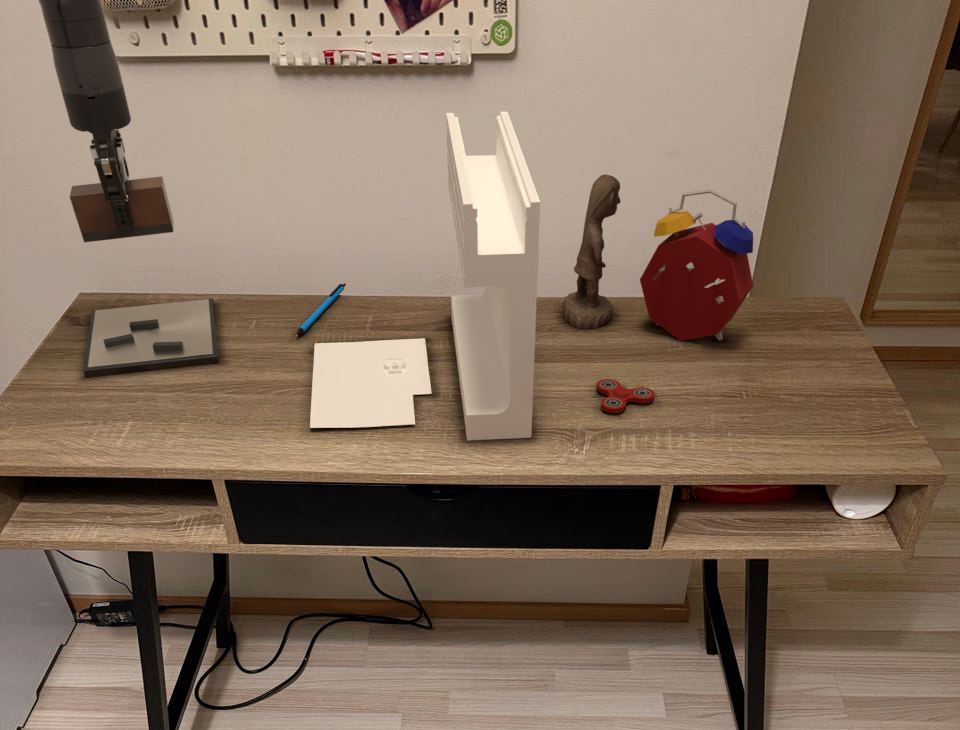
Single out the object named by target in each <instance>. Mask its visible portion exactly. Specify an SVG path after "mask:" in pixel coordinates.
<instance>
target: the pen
mask: <svg viewBox="0 0 960 730" xmlns="http://www.w3.org/2000/svg"><path fill="white" fill-rule="evenodd" d="M346 285H347V284H346V283H345V282H344V283H339V284H338V285H337V286H336V287H335V288H334V289H333V290H332V291H331V292H330V293H329V294H328V297H327V299H325V300H324V302H322V303H321V305H320V306H319V307H318V308H317V309H316V310H315V311H314V312H313V313H312V314H311V315H310V316H309V317H308V319H306V321H304V323H302V325H301V326H300V327H299V328H298V329H297V332H296V334H295V336H296V337H299V336H301V335H302V334H304V333H305V332H306V331H307V330H308V329H309V328H310V326H311V325H312V324H314V323H315V322H316V320H317V319H318V318H319V317H320V316H321V315H322V314H323V313H324V312H325V310H326V309H327V308H328V307H330V305H331V304H332V303H333V302H334V301H335V300H336V299H337V298H338V297H339V296H340V295H341V293H342V292H343V291H344V290H345V287H346Z"/></svg>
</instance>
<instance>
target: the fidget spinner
mask: <svg viewBox="0 0 960 730" xmlns="http://www.w3.org/2000/svg"><path fill="white" fill-rule="evenodd" d="M595 389H596V391H597V392H598V393H600V394H602V395H606V396H607V397H604V398H602V399H601V401H600V408H601V409H602V411H604V412H607V413H610V414H619V413H621V412H623V411H625V409H626V404H628V403H639V404H648V403H651V402H653V401H654V399H655V394H656V393H655V391H654V390H653V389H651V388H648V387H644V386H638V387H633V388H627V387H623V386H622V385H621V383H620V382H619V381H618V380H616V379H612V378H603V379H600V380H598V381H597V382H596V386H595Z"/></svg>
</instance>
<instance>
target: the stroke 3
mask: <svg viewBox="0 0 960 730" xmlns="http://www.w3.org/2000/svg"><path fill="white" fill-rule="evenodd" d="M182 349H183V342H182V341H181V342H154V344H153V350H154V351H171V350H182Z"/></svg>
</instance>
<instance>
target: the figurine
mask: <svg viewBox="0 0 960 730" xmlns="http://www.w3.org/2000/svg"><path fill="white" fill-rule="evenodd" d="M620 190H621V182H620V181H619V179H618V178H616V177H615V176H613V175H609V174H602V175H599V176H598V177H597V178H596V179H595V180H594V182H593V183H592V186H591V189H590V193H589V197H588V198H589V199H588V203H587V209H586V213H585V219H584V225H583V231H582V232H583V233H582V239H581V240H582V241H581V245H580V248H579V250H578V253H577V257H576V263H575V266H574V267H573V271H574V273H575V274H577V280H576V287H577V289H576V291H574V292H571V293H568V294H567V295H566V296H564V299H563V303H562V305H563V306H562V307H563V308H562V311H563V318H564V320H565V322H568V323H569V324H570V325H571V326H574V327H576V328H577V329H585V330H589V329H597V328H599V327H602V326H604V325H605V324H607V323H609V321H610V320H611V319H612V315H613V305H612V302H611V301H610V300H609V299H608V298H607V297H606V296H605V295H600V294H599V291H600V288H599V287H600V285H599V283H600V280H601V279H602V278H603V268H604V269H605V268H606V267H607V264H606V263H605V262H604V261H603V251H604V248H605V240H604V239H603V238H604V237H603V233H604V228H603V222H604V219H606V218H610V217H612V216H614V215H616V213H617V211H618V205H619V204H621V198H620V195H619V194H620V193H619V192H620Z"/></svg>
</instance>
